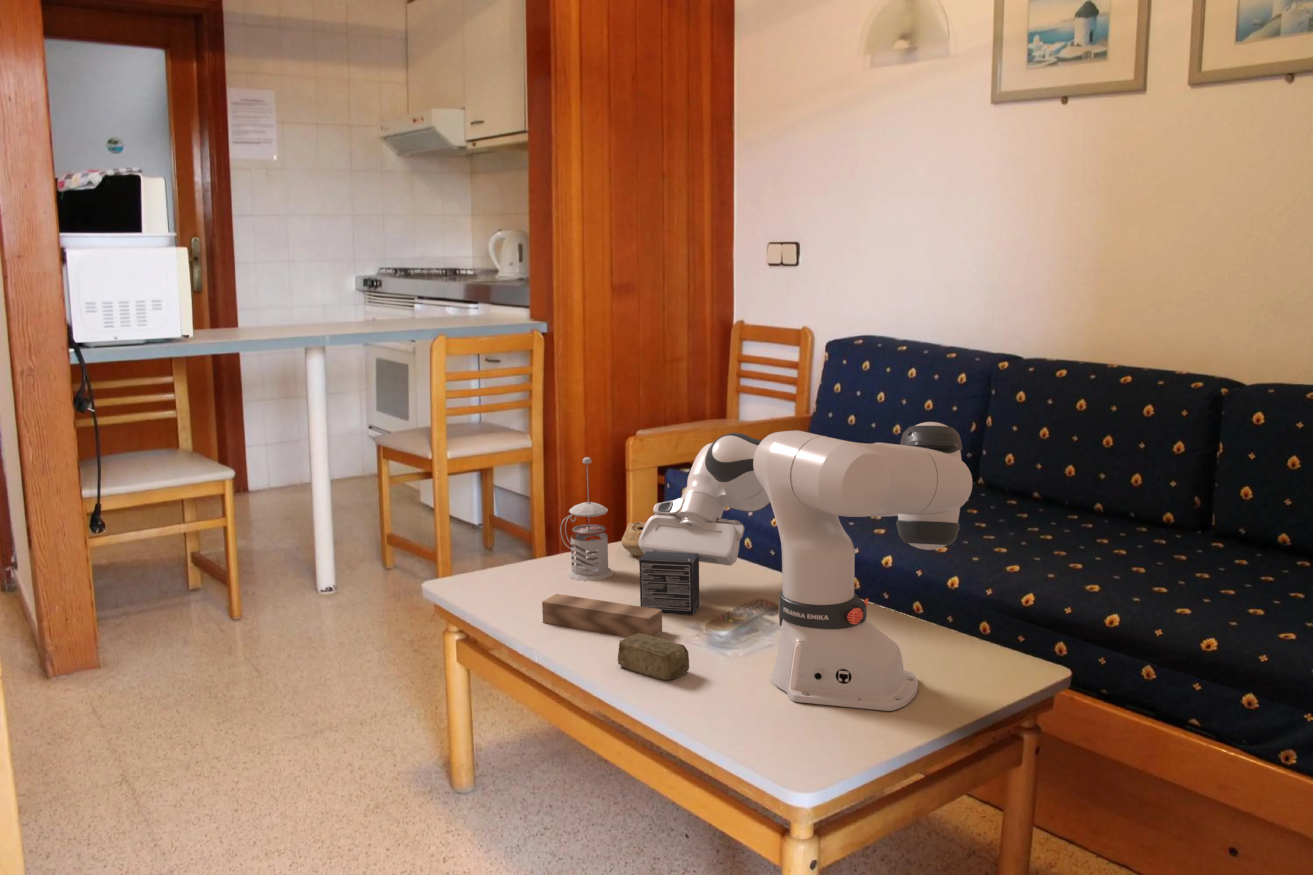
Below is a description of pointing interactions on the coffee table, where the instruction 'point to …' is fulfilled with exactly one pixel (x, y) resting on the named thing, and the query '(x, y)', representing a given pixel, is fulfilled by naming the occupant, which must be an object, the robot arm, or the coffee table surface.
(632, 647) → the stone block
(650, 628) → the batten
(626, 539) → the oil lamp
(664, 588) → the small box
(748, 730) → the coffee table surface
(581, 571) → the french press
